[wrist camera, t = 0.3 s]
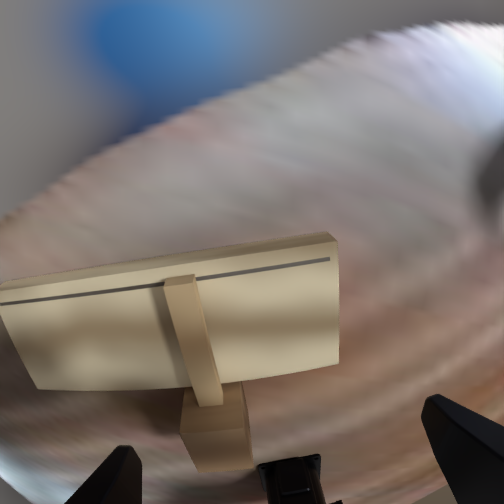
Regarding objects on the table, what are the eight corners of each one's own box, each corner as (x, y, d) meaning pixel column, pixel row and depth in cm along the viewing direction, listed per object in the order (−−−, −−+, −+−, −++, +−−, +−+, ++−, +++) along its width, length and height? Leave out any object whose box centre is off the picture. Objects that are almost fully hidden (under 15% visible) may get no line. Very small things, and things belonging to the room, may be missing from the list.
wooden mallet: (247, 411, 25) (253, 468, 19) (201, 416, 25) (198, 472, 19) (217, 255, 20) (214, 300, 14) (155, 264, 20) (131, 310, 14)
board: (330, 347, 23) (338, 363, 21) (46, 374, 22) (37, 389, 20) (327, 231, 20) (337, 241, 18) (4, 281, 19) (-9, 292, 17)
